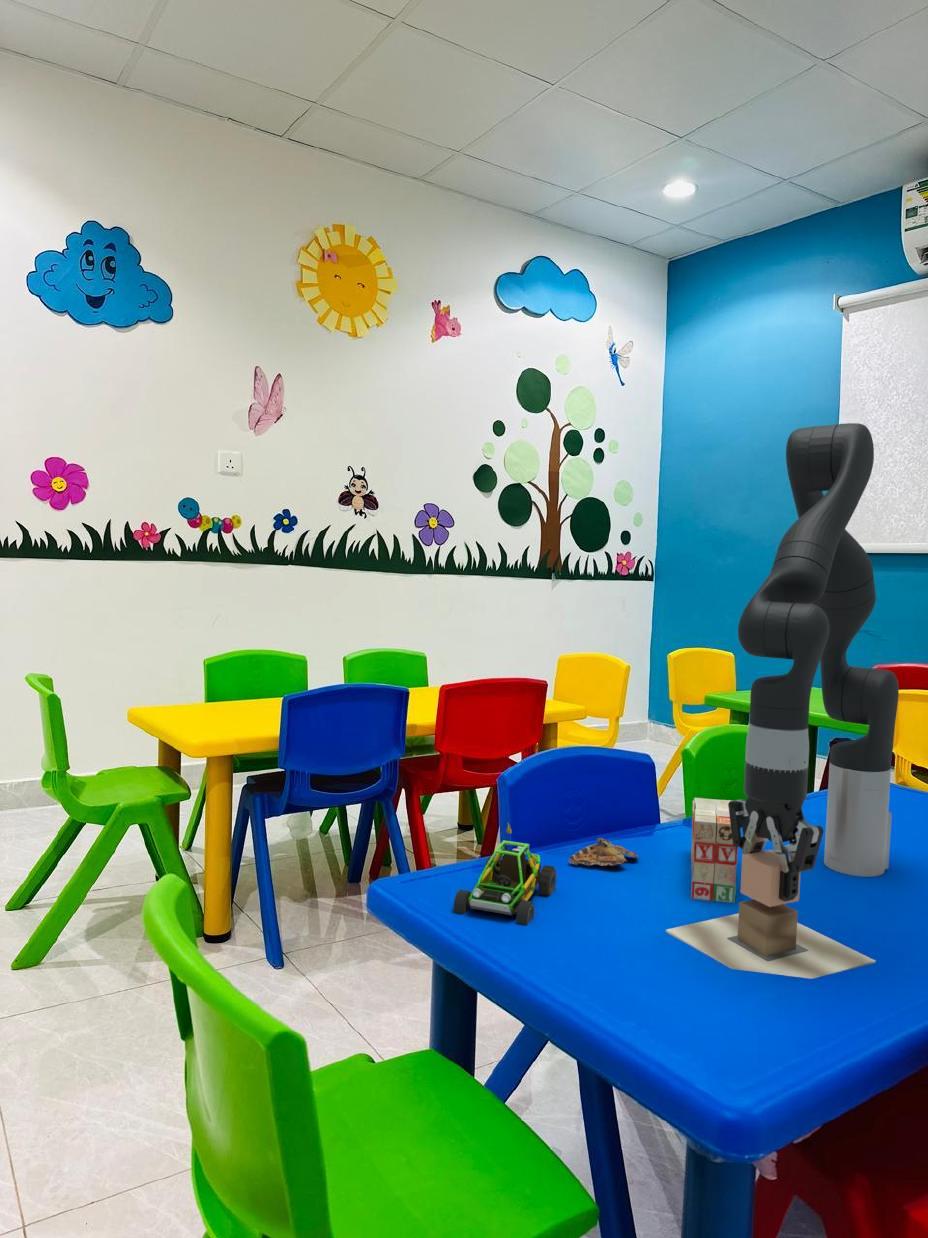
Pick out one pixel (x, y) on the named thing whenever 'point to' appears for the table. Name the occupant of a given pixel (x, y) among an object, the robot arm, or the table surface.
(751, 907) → the walnut cube
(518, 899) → the motor vehicle
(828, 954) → the cream flat pad
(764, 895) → the terracotta cube
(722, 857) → the stack of blocks
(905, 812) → the table surface
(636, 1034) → the table surface
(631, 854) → the butterfly model
